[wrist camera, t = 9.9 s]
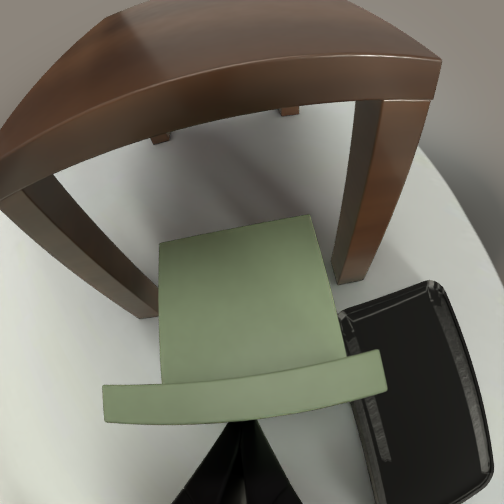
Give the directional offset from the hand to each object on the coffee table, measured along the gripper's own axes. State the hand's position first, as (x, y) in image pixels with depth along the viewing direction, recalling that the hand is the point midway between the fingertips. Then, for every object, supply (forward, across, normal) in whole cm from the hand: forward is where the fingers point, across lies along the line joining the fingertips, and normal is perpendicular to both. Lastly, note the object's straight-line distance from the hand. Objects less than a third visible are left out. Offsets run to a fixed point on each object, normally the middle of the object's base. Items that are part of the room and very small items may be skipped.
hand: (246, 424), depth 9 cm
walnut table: (+17, 0, -7) cm, 18 cm away
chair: (+8, 0, +2) cm, 8 cm away
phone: (+3, -9, +6) cm, 11 cm away
